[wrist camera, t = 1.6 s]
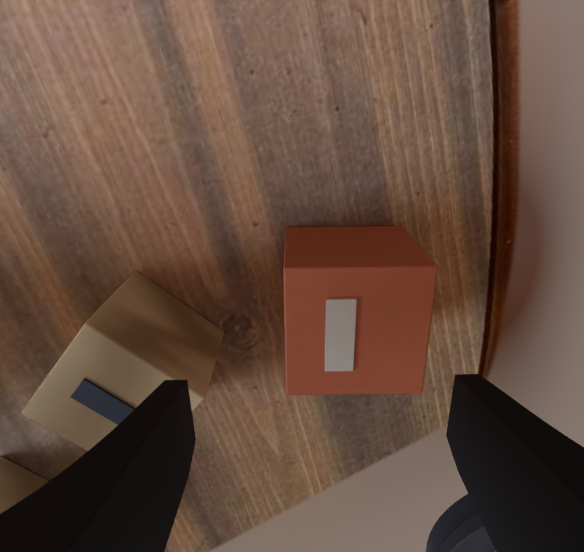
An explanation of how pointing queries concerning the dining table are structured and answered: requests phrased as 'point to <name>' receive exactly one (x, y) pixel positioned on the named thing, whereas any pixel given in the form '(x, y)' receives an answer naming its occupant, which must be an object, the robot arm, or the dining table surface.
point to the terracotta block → (356, 310)
